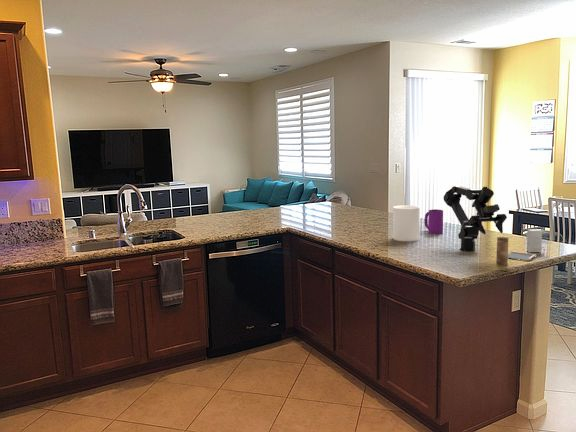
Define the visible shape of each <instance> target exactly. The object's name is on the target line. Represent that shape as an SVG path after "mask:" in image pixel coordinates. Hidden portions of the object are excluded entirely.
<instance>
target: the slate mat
mask: <svg viewBox="0 0 576 432" xmlns="http://www.w3.org/2000/svg"><path fill="white" fill-rule="evenodd" d="M535 256H536V257H537V254H536V253H529V252H522V251H521V252H520V251H515V250H511V251H510V253H508V258H511V259H510V260H514V259H520V260H519V261H522V260H528V261H527V262H530V261H529V260H531V259H532V258H534V257H535ZM536 257H535V258H536ZM535 258H534V259H535ZM532 260H533V259H532ZM532 260H531V261H532Z"/></svg>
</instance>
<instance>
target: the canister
mask: <svg viewBox="0 0 576 432" xmlns="http://www.w3.org/2000/svg"><path fill="white" fill-rule="evenodd" d="M420 209H421V207H420V206H419V205H407V204H404V205H403V204H402V205H401V204H400V205H394V206H392V226H393V227H392V238H393V240H395V241H397V242H398V241H399V242H415V241H420V226H421V225H420V222H421V221H420V219H421V218H420V212H421V211H420Z"/></svg>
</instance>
